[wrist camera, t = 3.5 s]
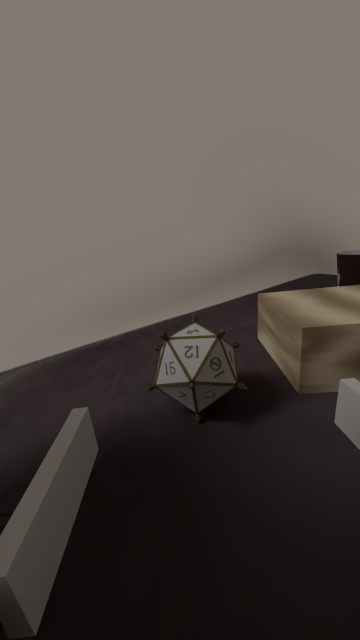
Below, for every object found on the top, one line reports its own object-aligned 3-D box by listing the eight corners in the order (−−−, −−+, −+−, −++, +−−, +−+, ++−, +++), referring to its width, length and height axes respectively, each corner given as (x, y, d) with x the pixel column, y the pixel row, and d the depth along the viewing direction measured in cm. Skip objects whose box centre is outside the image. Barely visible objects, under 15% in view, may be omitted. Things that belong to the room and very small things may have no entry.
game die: (194, 420, 26) (192, 331, 30) (270, 424, 21) (256, 314, 24) (123, 425, 20) (130, 313, 24) (202, 433, 15) (197, 284, 18)
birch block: (298, 396, 23) (302, 327, 21) (257, 339, 36) (258, 293, 34) (453, 386, 22) (475, 314, 20) (354, 331, 36) (361, 284, 33)
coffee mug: (345, 299, 50) (351, 249, 47) (398, 306, 43) (409, 248, 40) (313, 312, 44) (317, 256, 41) (368, 323, 37) (378, 256, 34)
